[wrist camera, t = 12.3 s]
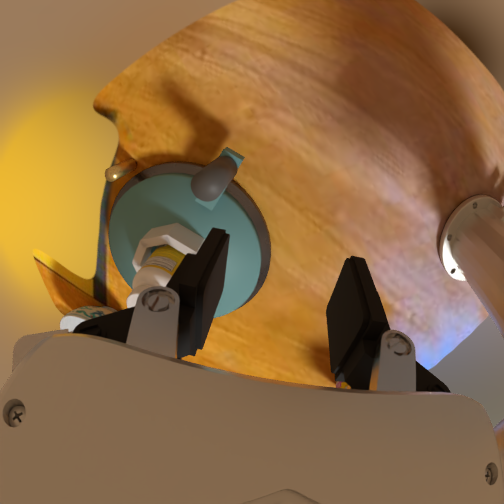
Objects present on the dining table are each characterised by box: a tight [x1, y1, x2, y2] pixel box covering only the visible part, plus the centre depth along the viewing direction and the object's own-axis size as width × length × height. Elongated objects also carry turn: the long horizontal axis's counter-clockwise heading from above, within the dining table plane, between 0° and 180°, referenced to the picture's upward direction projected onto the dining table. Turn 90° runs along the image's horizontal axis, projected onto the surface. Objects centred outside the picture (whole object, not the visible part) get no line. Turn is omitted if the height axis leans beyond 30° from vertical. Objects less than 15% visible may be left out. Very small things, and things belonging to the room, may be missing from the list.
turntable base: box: [105, 158, 271, 310], centre depth 33 cm, size 22×23×5 cm
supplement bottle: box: [127, 244, 185, 308], centre depth 28 cm, size 5×5×10 cm
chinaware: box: [60, 306, 117, 332], centre depth 42 cm, size 15×15×8 cm
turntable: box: [109, 147, 262, 318], centre depth 29 cm, size 24×20×9 cm
